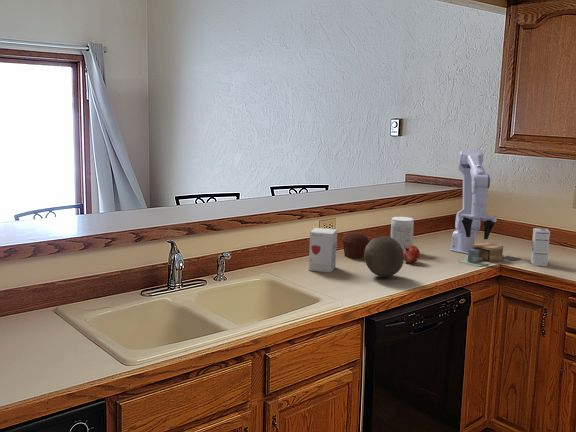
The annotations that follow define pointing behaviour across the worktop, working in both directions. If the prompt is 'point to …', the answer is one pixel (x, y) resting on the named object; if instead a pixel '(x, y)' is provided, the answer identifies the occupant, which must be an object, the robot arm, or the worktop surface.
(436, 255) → the worktop surface
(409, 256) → the pomegranate
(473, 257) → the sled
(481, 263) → the pad
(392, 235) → the supplement tub
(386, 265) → the cantaloupe
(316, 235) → the supplement box
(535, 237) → the syrup box
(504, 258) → the pit right
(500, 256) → the tunnel
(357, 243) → the muffin
